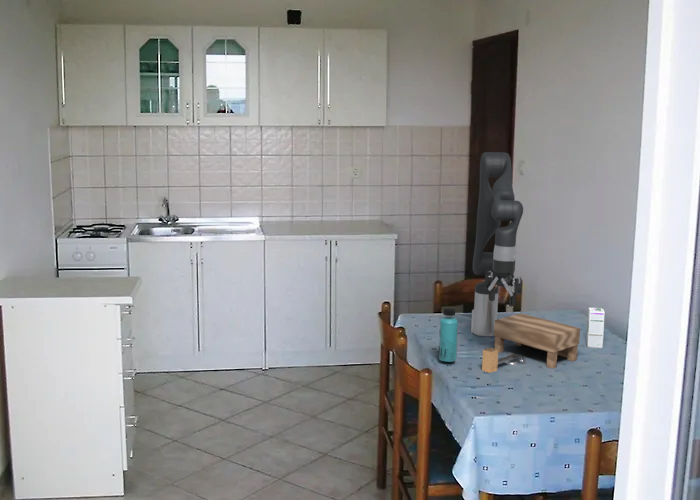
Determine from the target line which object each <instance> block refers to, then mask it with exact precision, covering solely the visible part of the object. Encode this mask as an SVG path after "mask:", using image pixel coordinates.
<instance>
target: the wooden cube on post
mask: <svg viewBox="0 0 700 500" xmlns="http://www.w3.org/2000/svg"><path fill="white" fill-rule="evenodd" d="M494 348H495V347H494ZM494 348H493V347H487V348H483V349H482V358H481V359H482V360H481V362H482V363H481V371H483V372H486V373H489V374H491V373H493V372H498V365H500V364H503V363H505V362H507V361H510V360H516V361H518V364H521V365H526V364H527V363H526V362H527V361H526V360H527V356H525V355H520V354H518V353H514V352H510V351H509V352H507V356H505V357H501V358H499V352H498V350H497V349H494Z"/></svg>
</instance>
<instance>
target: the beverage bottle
mask: <svg viewBox="0 0 700 500" xmlns="http://www.w3.org/2000/svg"><path fill="white" fill-rule="evenodd" d="M442 313H443V316H444V317H442V318H441V319H440V321H439V323H440V324H439V331H438V332H439V342H438V343H439V345H438V358H439V360H440V361H441V362H442V361H443V362H448V363H450V362H455V361H456V360H457V356H458V355H457V354H458V353H457V352H458V351H457V350H458V325H459V324H458V323H459V321H458V320H457V318H456V317H453V316H456V309H455V308H453V307H444V308H443V312H442Z"/></svg>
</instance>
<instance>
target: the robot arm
mask: <svg viewBox="0 0 700 500" xmlns="http://www.w3.org/2000/svg"><path fill="white" fill-rule="evenodd" d="M512 169H513V168H512V160H511V156H510V153H508V152H502V151H501V152H499V151H498V152H497V151H496V152H494V151H493V152H491V151H489V152H488V151H486V152H483V153H482V154H481V156H480V163H479V193H478V204H477V214H476V227H475V230H476V231H475V232H476V233H475V243H474V250H473V257H472V272H473V274H474V275H476V276H484V281H481V282H478V283H476V284H475V286H474V304H473V305H474V306H473V309H472V310H471V325H470V333H471V334H474V335H475V336H479V337H493V336H494V327H495V320H497V319H498V308H499V307H498V304H499V288H500V287H501V288H503V289H504V288H505V289H506V291H507V292H508V294H509V296H508V297H509V299H508V306H509V307H511V308H512V307H515V305H516V301H517V296H519V295H522V290H523V289H522V287H523V285H522V284H523V282H522V281H523V279H522V277H521V276H520V277H515V270H516V260H517V259H516V258H517V249H516V247H517V246H516V245H517V234H518V228H519V225H520V222H521V220H522V216H523V214H524V206H523V203H522V202H521V201H519V200H515V197H516V196H515V193H514V189H513V180H512V179H513V174H512ZM489 178H497V179H496V181H495V182H494V183H493V187H491V184H490V183H489ZM501 222H509V224H508V225H507V226H501ZM494 235H495V237H494V238H495V239H494V247H493V252H488V251H487V252H485V251H484V249H485V247H486V245H487V243H488V242H489V240H490V239H492V237H493V236H494ZM494 337H495V336H494Z"/></svg>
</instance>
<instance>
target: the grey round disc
mask: <svg viewBox="0 0 700 500" xmlns="http://www.w3.org/2000/svg"><path fill="white" fill-rule="evenodd" d="M504 363H505V364H506V365H509V366H517V365H518V364H519V363H518V361H516V360H510V361H507V362H504Z"/></svg>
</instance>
